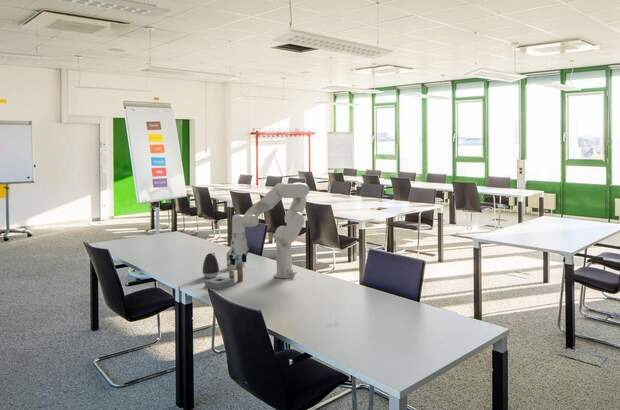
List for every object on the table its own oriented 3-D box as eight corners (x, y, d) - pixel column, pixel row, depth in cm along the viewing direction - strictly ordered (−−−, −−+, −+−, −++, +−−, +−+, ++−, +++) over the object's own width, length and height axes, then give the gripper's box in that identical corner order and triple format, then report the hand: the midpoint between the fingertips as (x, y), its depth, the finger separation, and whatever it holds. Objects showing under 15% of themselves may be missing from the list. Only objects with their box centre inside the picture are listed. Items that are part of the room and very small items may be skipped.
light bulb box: (233, 269, 326) (233, 253, 324) (226, 268, 330) (225, 252, 328) (244, 266, 334) (244, 250, 333) (237, 265, 338) (237, 249, 337)
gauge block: (234, 284, 289) (234, 279, 288) (219, 289, 279) (219, 283, 278) (220, 281, 295) (219, 276, 295) (205, 286, 286) (204, 280, 285)
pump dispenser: (222, 275, 311) (221, 251, 309) (215, 279, 301) (214, 255, 299) (207, 274, 313) (206, 251, 312) (199, 278, 303) (198, 254, 302)
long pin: (244, 281, 297) (243, 263, 296) (240, 282, 295) (239, 264, 293) (240, 280, 299) (239, 262, 298) (236, 281, 296) (235, 263, 295)
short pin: (235, 278, 304) (235, 270, 303) (231, 279, 301) (231, 271, 301) (231, 277, 306) (231, 269, 305) (228, 278, 303) (227, 270, 303)
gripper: (232, 237, 284) (232, 266, 286) (253, 234, 298) (252, 261, 300) (223, 236, 289) (223, 264, 290) (243, 232, 303) (243, 260, 304)
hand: (238, 263), depth 295 cm, fingers open, 9 cm apart
